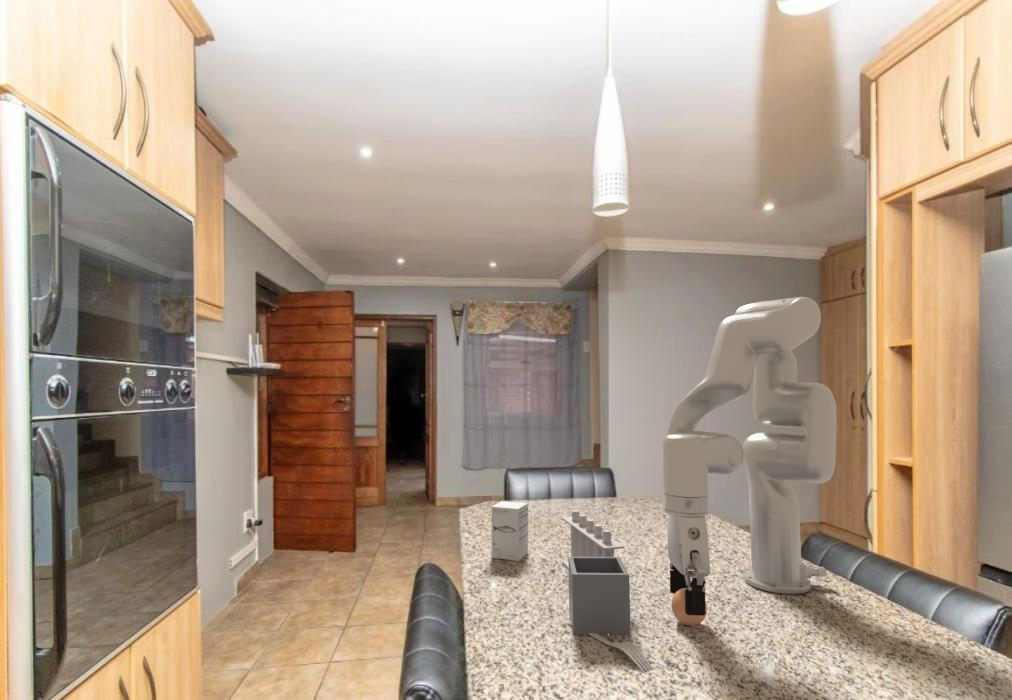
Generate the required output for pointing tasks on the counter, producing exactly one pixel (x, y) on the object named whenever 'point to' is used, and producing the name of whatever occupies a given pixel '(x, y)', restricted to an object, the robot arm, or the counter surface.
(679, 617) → the ball
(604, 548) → the test tube rack
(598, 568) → the grey open square box
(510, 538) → the supplement box
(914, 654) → the counter surface
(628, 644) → the fork
